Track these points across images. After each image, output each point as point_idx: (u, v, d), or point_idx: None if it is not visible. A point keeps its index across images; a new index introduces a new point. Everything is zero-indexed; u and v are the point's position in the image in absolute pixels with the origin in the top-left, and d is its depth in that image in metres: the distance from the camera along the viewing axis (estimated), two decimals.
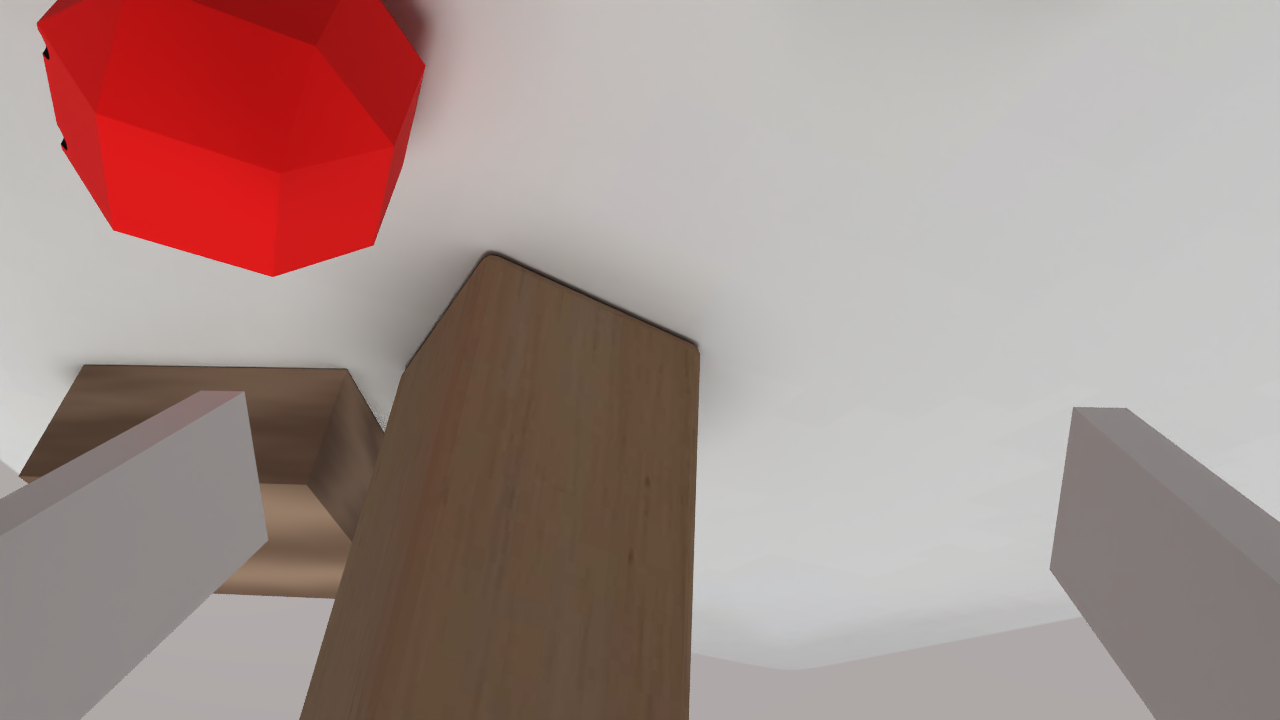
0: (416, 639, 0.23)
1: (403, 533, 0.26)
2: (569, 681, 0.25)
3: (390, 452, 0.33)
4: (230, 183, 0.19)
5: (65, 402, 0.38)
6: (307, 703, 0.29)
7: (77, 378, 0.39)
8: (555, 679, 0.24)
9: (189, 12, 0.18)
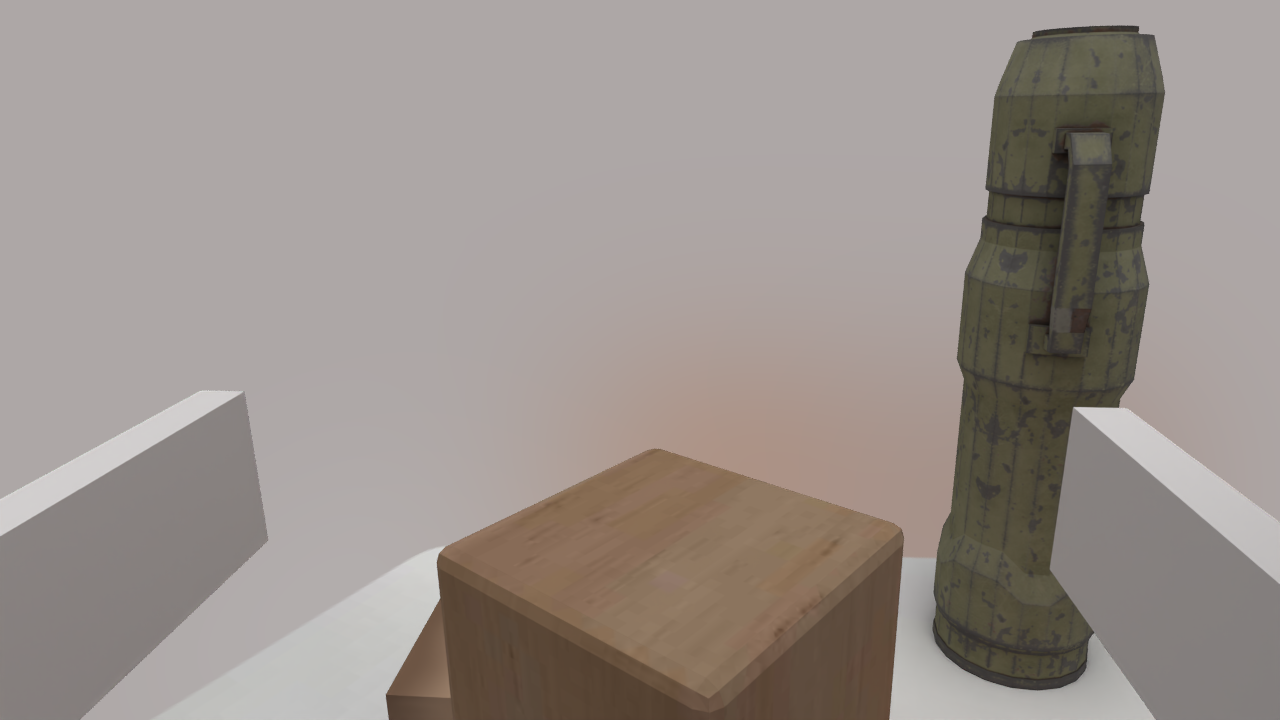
0: (889, 686, 0.26)
1: None
2: None
3: None
4: None
5: None
6: None
7: None
8: None
9: None
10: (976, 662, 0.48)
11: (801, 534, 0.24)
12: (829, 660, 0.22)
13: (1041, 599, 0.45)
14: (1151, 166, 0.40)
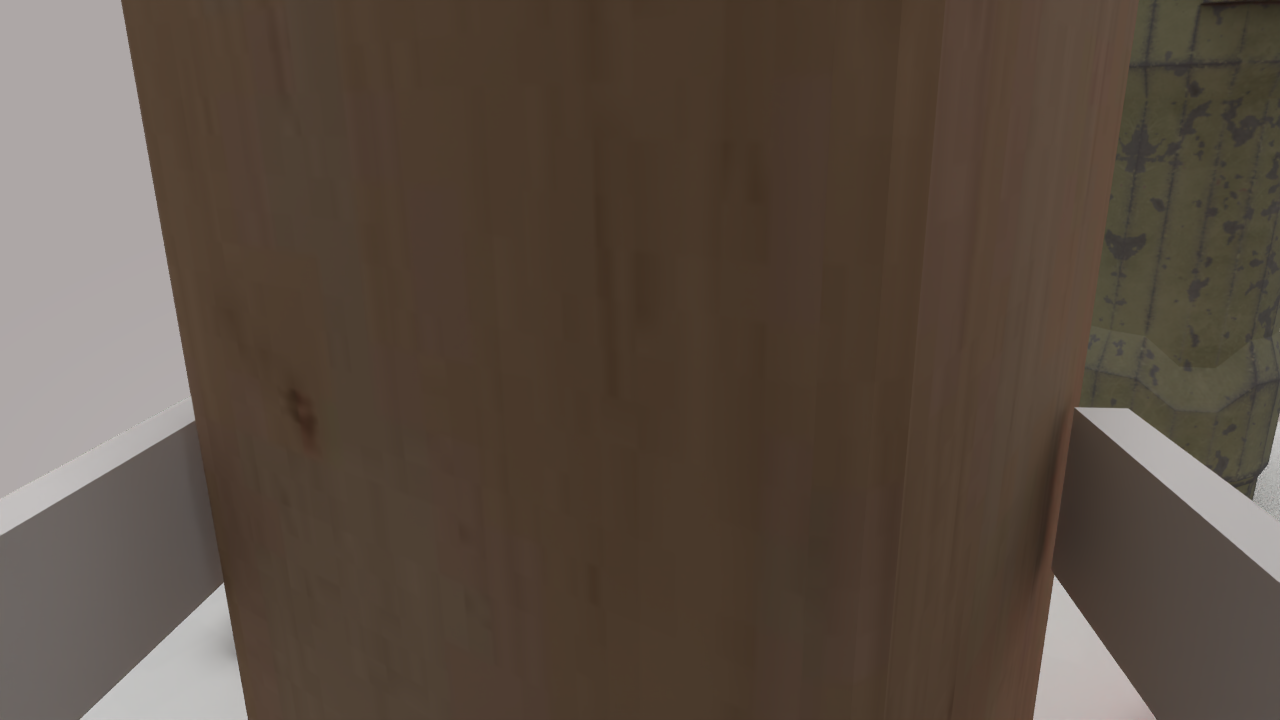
0: (1103, 230, 0.13)
1: None
2: (1037, 271, 0.09)
3: None
4: None
5: None
6: None
7: None
8: (1047, 260, 0.09)
9: None
10: None
11: None
12: None
13: (1204, 402, 0.31)
14: None
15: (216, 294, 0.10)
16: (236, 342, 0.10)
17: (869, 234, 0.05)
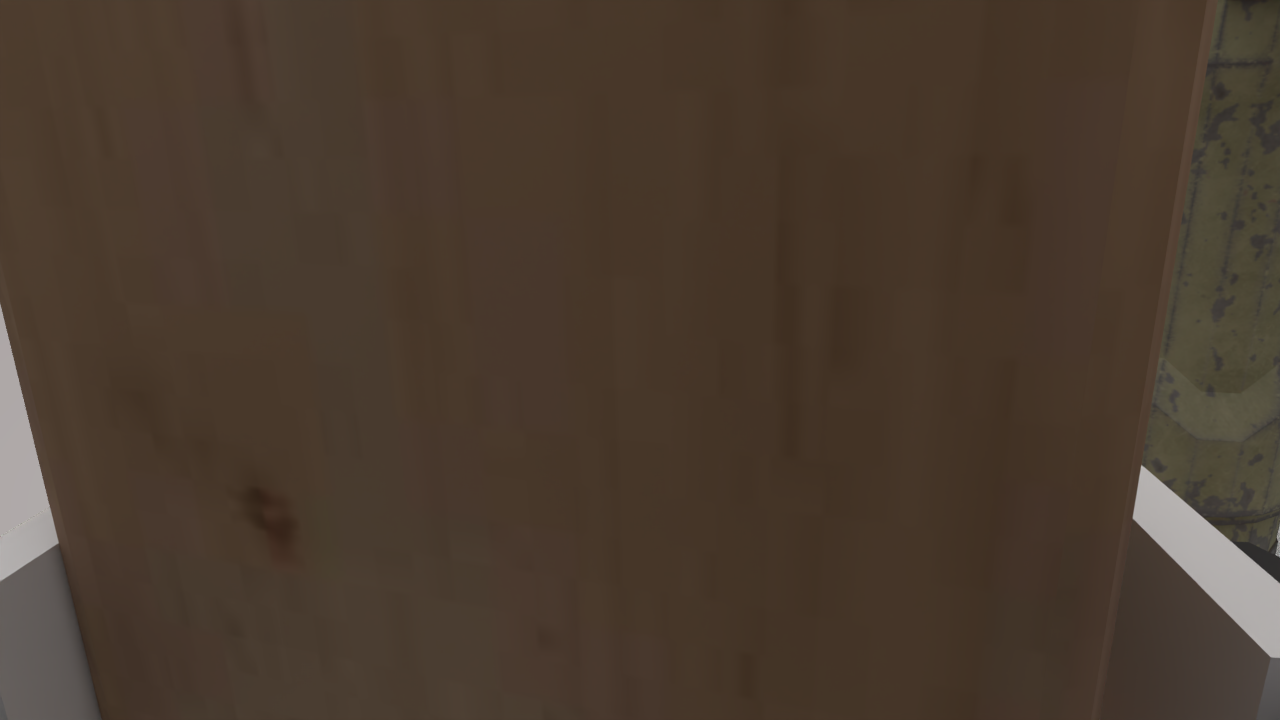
0: None
1: None
2: None
3: None
4: None
5: None
6: None
7: None
8: None
9: None
10: None
11: None
12: None
13: (1228, 430, 0.29)
14: None
15: (111, 372, 0.08)
16: (149, 434, 0.08)
17: (1149, 254, 0.05)
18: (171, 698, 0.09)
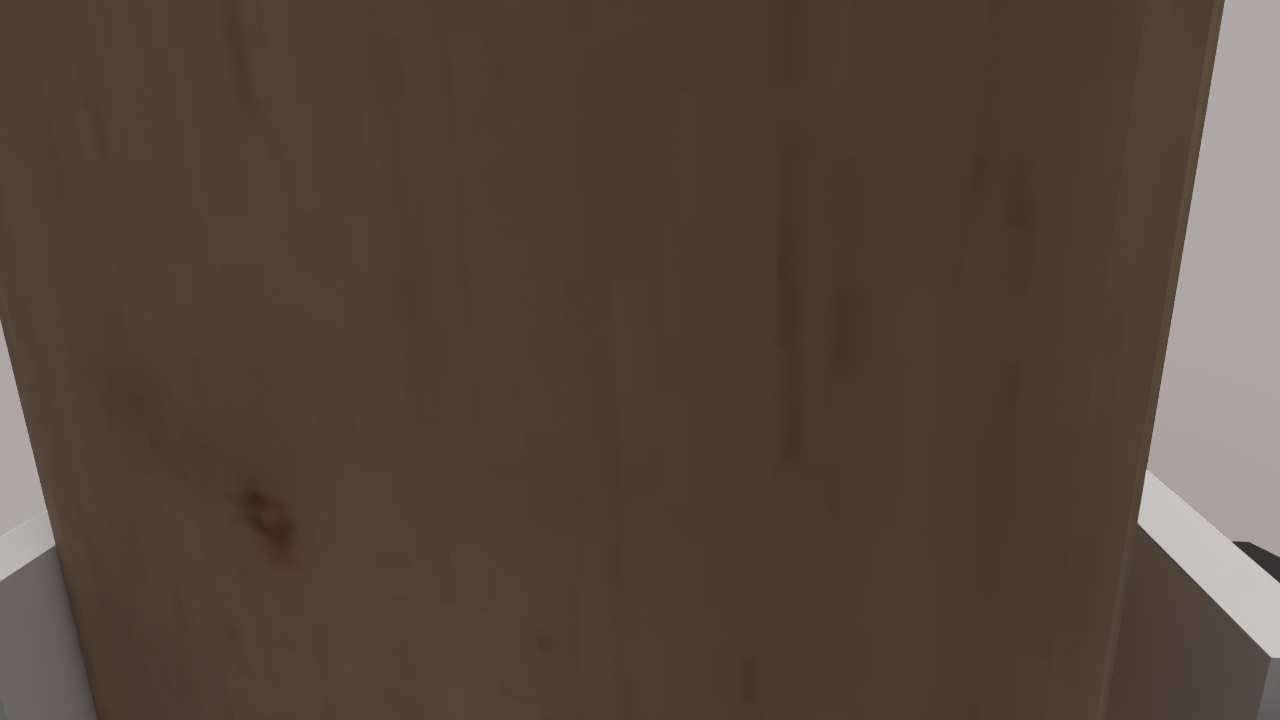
0: None
1: None
2: None
3: None
4: None
5: None
6: None
7: None
8: None
9: None
10: None
11: None
12: None
13: None
14: None
15: (108, 375, 0.08)
16: (147, 436, 0.08)
17: (1155, 256, 0.05)
18: (169, 702, 0.09)
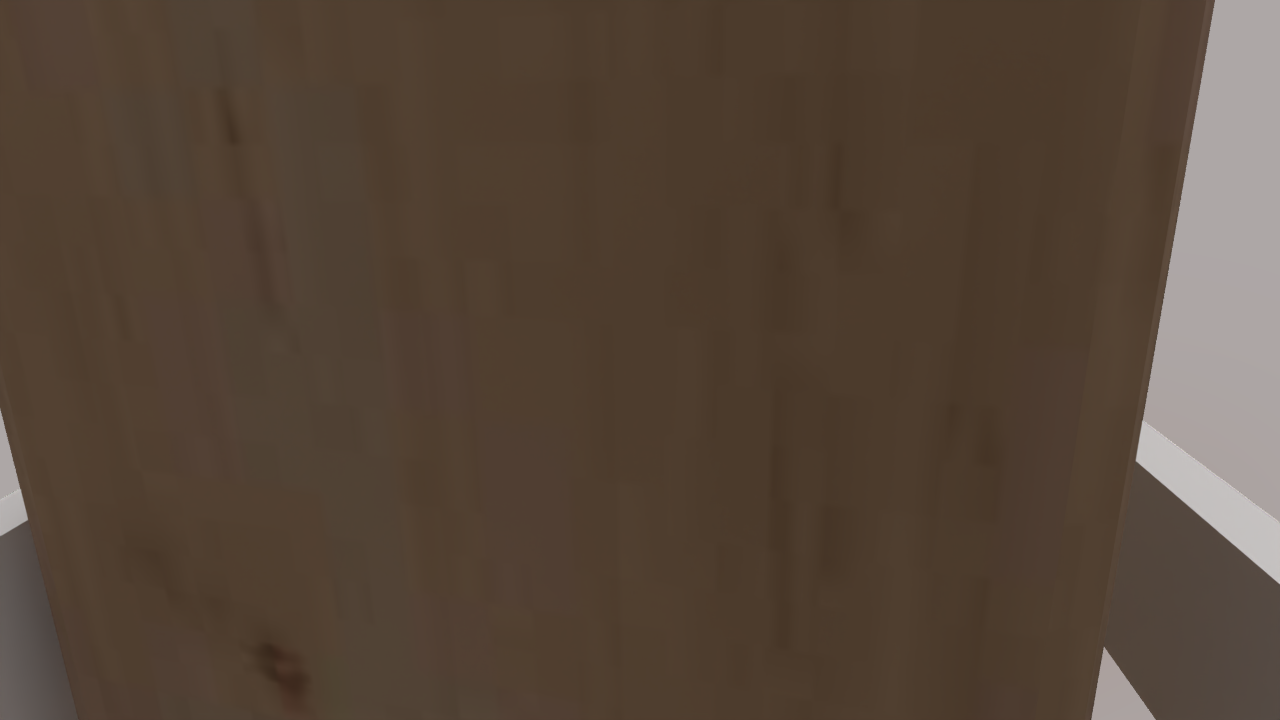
0: None
1: None
2: None
3: None
4: None
5: None
6: None
7: None
8: None
9: None
10: None
11: None
12: None
13: None
14: None
15: (125, 531, 0.08)
16: (163, 589, 0.08)
17: (1107, 494, 0.05)
18: None
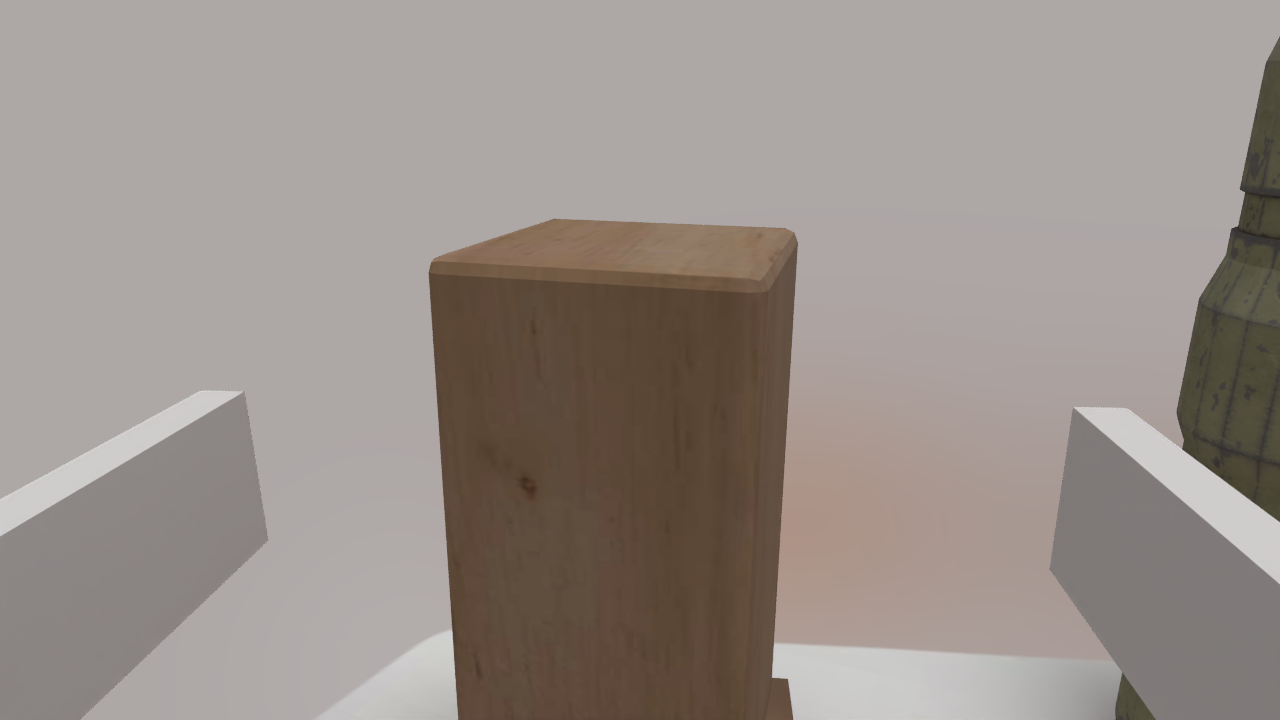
0: (789, 370, 0.32)
1: None
2: (776, 407, 0.27)
3: None
4: None
5: None
6: None
7: None
8: (777, 401, 0.28)
9: None
10: None
11: (731, 234, 0.29)
12: (783, 309, 0.27)
13: None
14: None
15: (479, 442, 0.25)
16: (490, 461, 0.25)
17: (751, 427, 0.23)
18: (481, 546, 0.26)
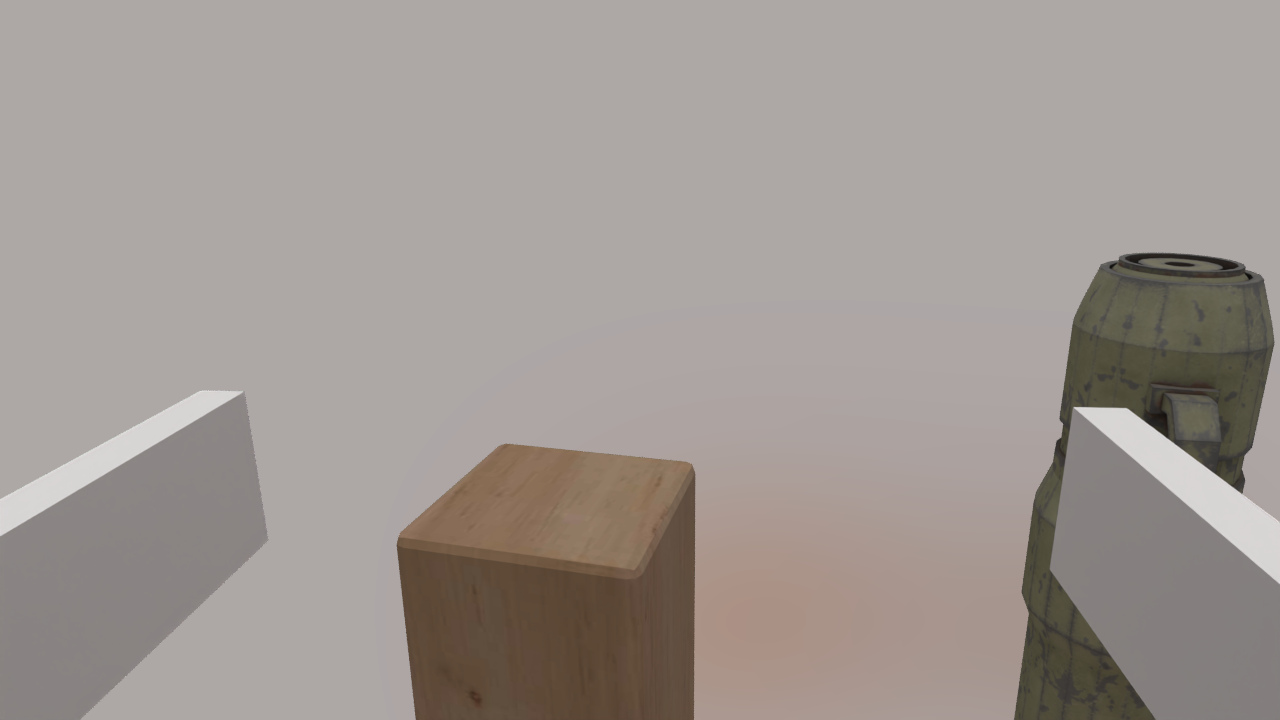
0: (693, 568, 0.40)
1: None
2: (669, 623, 0.35)
3: None
4: None
5: None
6: None
7: None
8: (672, 616, 0.36)
9: None
10: None
11: (637, 478, 0.37)
12: (673, 548, 0.35)
13: None
14: (1256, 420, 0.35)
15: (438, 664, 0.33)
16: (446, 678, 0.34)
17: (634, 669, 0.31)
18: None
